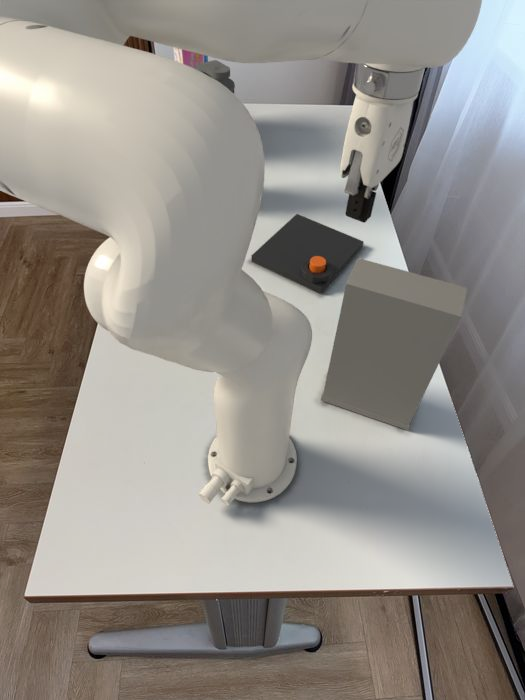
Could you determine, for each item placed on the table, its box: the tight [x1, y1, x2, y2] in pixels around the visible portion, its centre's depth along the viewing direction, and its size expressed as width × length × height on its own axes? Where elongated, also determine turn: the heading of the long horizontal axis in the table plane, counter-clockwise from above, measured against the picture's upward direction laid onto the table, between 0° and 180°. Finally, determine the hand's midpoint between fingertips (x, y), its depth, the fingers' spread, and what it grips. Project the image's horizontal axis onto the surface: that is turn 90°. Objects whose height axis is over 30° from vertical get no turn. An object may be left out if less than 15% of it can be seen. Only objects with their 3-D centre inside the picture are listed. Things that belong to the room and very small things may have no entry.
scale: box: [251, 213, 364, 295], centre depth 100 cm, size 17×16×3 cm
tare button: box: [309, 256, 326, 273], centre depth 94 cm, size 3×3×2 cm
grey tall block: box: [320, 257, 468, 431], centre depth 70 cm, size 14×6×25 cm, turn 68°
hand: (357, 216), depth 70 cm, fingers closed
